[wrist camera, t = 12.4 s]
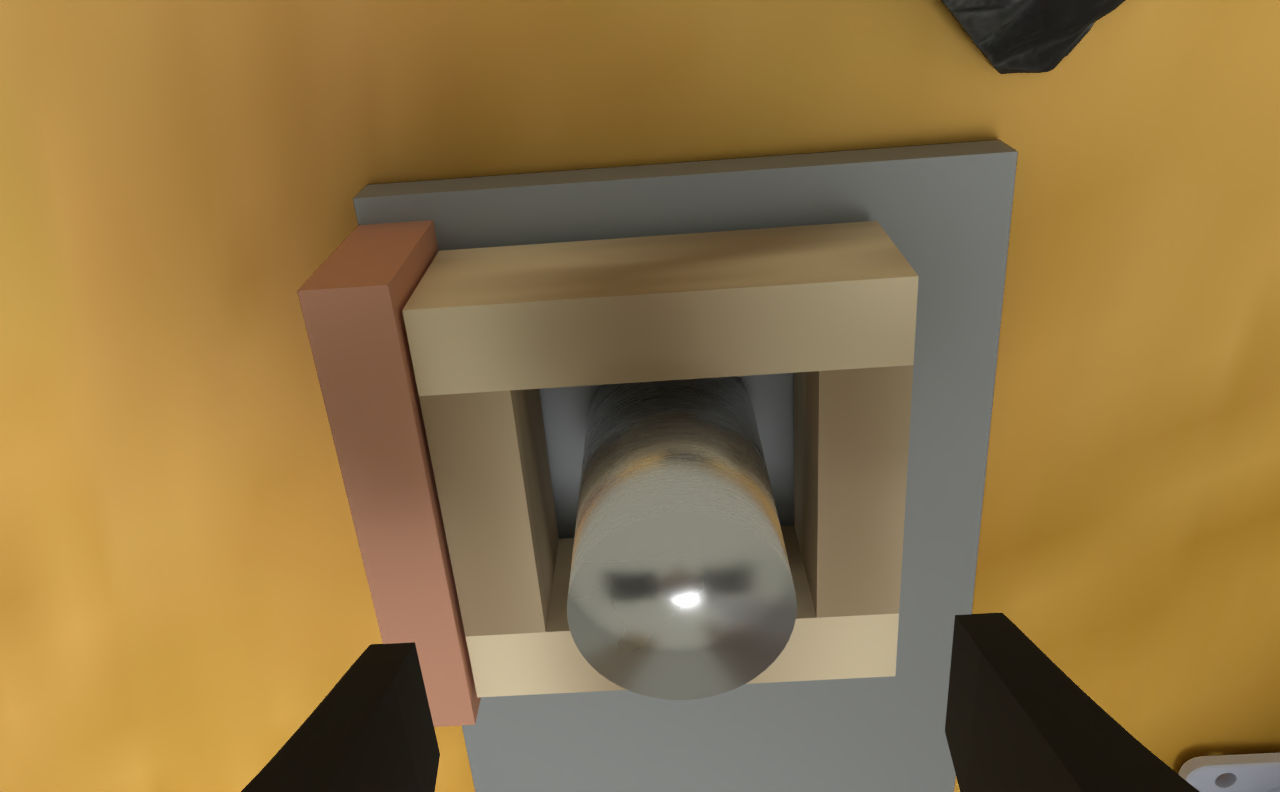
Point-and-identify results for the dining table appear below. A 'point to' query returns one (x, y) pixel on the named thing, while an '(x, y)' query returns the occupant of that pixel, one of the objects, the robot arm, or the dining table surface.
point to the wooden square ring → (661, 351)
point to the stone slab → (1028, 29)
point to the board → (938, 440)
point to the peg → (678, 541)
